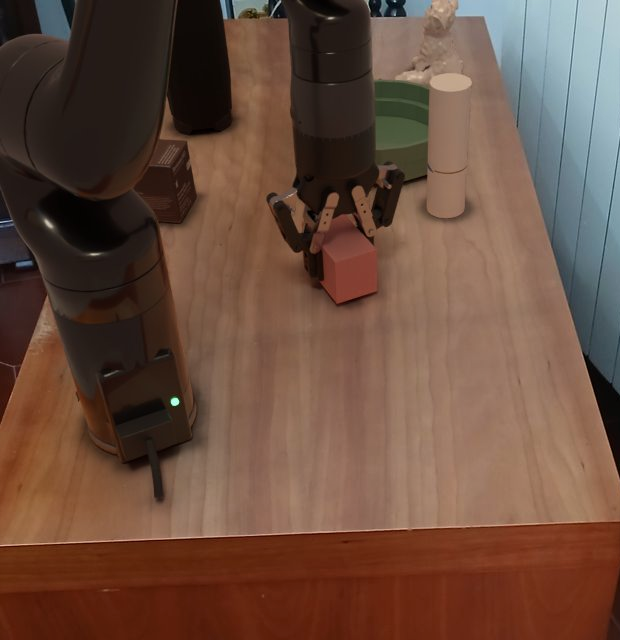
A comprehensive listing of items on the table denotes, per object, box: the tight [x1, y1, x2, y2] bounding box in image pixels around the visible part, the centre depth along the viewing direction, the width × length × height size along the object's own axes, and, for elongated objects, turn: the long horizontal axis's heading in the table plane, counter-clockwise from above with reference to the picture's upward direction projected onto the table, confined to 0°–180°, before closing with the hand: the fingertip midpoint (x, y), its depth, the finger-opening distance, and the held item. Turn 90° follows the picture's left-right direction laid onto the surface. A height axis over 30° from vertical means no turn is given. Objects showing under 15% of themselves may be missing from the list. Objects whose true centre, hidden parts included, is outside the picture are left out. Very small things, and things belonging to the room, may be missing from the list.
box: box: [133, 138, 197, 224], centre depth 104 cm, size 6×6×7 cm
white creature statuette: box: [394, 0, 465, 87], centre depth 124 cm, size 10×9×12 cm
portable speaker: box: [166, 0, 233, 135], centre depth 116 cm, size 9×9×20 cm
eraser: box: [300, 214, 378, 304], centre depth 92 cm, size 8×4×5 cm, turn 25°
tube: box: [426, 73, 473, 219], centre depth 99 cm, size 4×4×15 cm
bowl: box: [374, 78, 430, 184], centre depth 113 cm, size 18×18×5 cm
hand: (340, 269), depth 94 cm, fingers closed on eraser, 4 cm apart
